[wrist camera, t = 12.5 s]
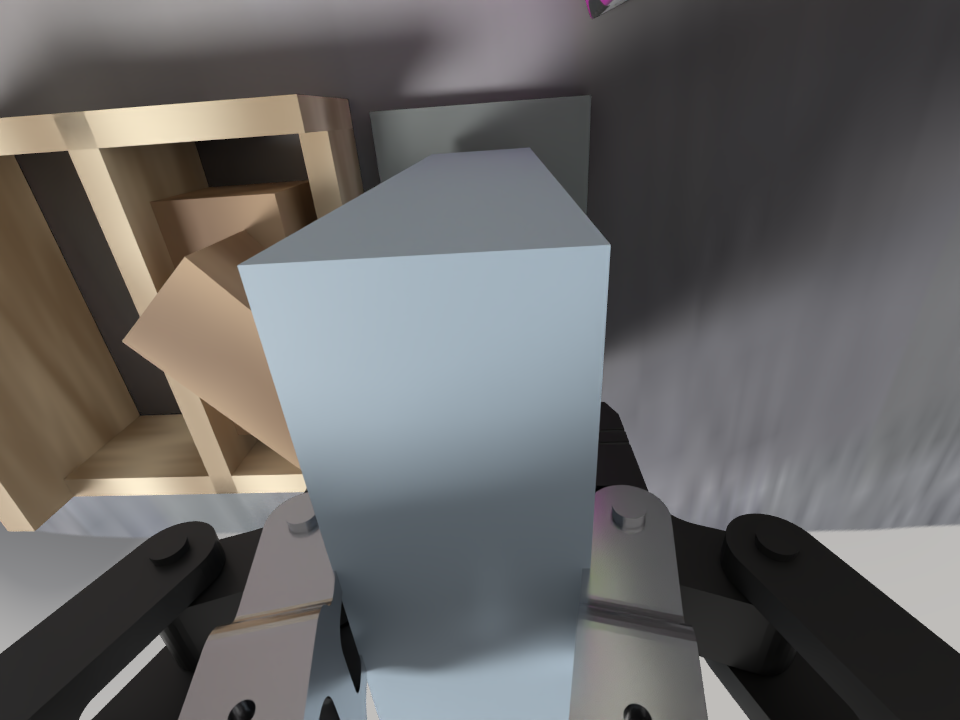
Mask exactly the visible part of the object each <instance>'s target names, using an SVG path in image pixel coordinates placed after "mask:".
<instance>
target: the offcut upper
mask: <svg viewBox="0 0 960 720" xmlns="http://www.w3.org/2000/svg"><path fill="white" fill-rule="evenodd" d="M263 250H265V248H264V247H263V246H262V245H261V244H260V243H259V242H257V241H256V240H255V239H254V238H253V237H252V236H250V235H249V234H248V233H247V232H246V231H245V230H243V231H241V232H239V233H236V234H234V235H232V236H230V237H227V238H225V239H223V240H221V241H219V242H216V243H214V244H212V245H210V246H207V247H205V248H203V249H201V250H199V251H196V252H194V253H192V254H190V255H187V256H185V257H184V258H183V260H182V261H181V262H180V264H179V265H178V266H177V268H176V269H175V270H174V272H173V273H172V275H171V276H170V277H169V279H168V280H167V281H166V283H165V284H164V285H163V287H162V288H161V289H160V291H159V292H158V293H157V295H156V296H155V297H154V299H153V300H152V301H151V303H150V304H149V305H148V307H147V308H146V310H145V311H144V312H143V314H142V315H141V316H140V318H139V319H138V320H137V322H136V323H135V324H134V326H133V327H132V328H131V330H130V331H129V332H128V334H127V335H126V336H125V338H124V339H123V341H122V342H123V343H124V344H126V345H127V346H129V347H130V348H131V349H133V350H134V351H136V352H137V353H138V354H140V355H141V356H143V357H144V358H145V359H147V360H148V361H150V362H151V363H152V364H154V365H155V366H157V367H158V368H159V369H161V370H162V371H164V372H165V373H166V374H168V375H169V376H170V377H172V378H173V379H175V380H176V381H177V382H179V383H180V384H182V385H183V386H184V387H186V388H187V389H189V390H190V391H191V392H193V393H194V394H196V395H197V396H198V397H200V398H201V399H203V400H204V401H205V402H207V403H208V404H210V405H211V406H212V407H214V408H215V409H217V410H218V411H219V412H221V413H222V414H224V415H225V416H226V417H228V418H229V419H230V420H232V421H233V422H235V423H236V424H237V425H239V426H240V427H242V428H243V429H244V430H246V431H247V432H249V433H250V434H251V435H253V436H254V437H256V438H257V439H258V440H260V441H261V442H263V443H264V444H265V445H267V446H268V447H270V448H271V449H272V450H274V451H275V452H277V453H278V454H279V455H281V456H282V457H283V458H285V459H286V460H288V461H289V462H290V463H292V464H293V465H295V466H296V467H297V468H299V469H300V470H301V468H300V465H299V461H298V458H297V455H296V452H295V449H294V446H293V442H292V439H291V436H290V433H289V430H288V426H287V423H286V420H285V417H284V414H283V410H282V407H281V404H280V401H279V398H278V394H277V391H276V388H275V385H274V382H273V378H272V375H271V372H270V369H269V366H268V362H267V359H266V356H265V353H264V350H263V346H262V343H261V340H260V337H259V334H258V331H257V327H256V324H255V321H254V318H253V315H252V311H251V308H250V305H249V302H248V299H247V295H246V292H245V289H244V286H243V283H242V279H241V276H240V273H239V270H238V267H237V265H239V264H241V263H242V262H244V261H246V260H248V259H249V258H251V257H253V256H255V255H256V254H258V253H260V252H262V251H263Z"/></svg>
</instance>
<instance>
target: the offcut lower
mask: <svg viewBox="0 0 960 720" xmlns="http://www.w3.org/2000/svg"><path fill="white" fill-rule="evenodd" d="M150 204H151V207H152V210H153V212H154V215H155V218H156V220H157V223H158V225H159V228H160V231H161V233H162V236H163V239H164V241H165V244H166V247H167V249H168V252H169V255H170V257H171V260H172V262H173V265H174V268H175V269H176V268H177V266H178V265H179V264H180V262H181V261H182V260H183V258H184V257H185V256H187V255H190V254H192V253H194V252H196V251H199V250H201V249H203V248H205V247H207V246H210V245H212V244H214V243H216V242H219V241H221V240H223V239H225V238H227V237H230V236H232V235H234V234H236V233H239V232H241V231H243V230H245V231H246V232H247V233H248V234H249V235H250V236H252V237H253V238H254V239H255V240H256V241H257V242H259V243H260V244H261V245H262V246H263V247H264V248H265V249H267V248H269V247H270V246H272V245H274V244H276V243H277V242H279V241H281V240H283V239H284V238H286V237H288V236H290V235H291V234H293V233H295V232H297V231H298V230H300V229H302V228H304V227H305V226H307V225H309V224H311V223H312V222H314V221H316V220H318V219H317V215H316V210H315V206H314V201H313V197H312V192H311V188H310V183H309V180H302V181H288V182H273V183H259V184H245V185H231V186H217V187H208V188H204V189H200V190H196V191H192V192H188V193H184V194H180V195H176V196H172V197H168V198H164V199H160V200H155V201H151V202H150ZM233 423H234V425H235V428H236V431H237V433H238V435H251V434H250V433H249V432H247V431H246V430H244V429H243V428H242V427H240V426H239V425H237V424H236V423H235V422H233Z"/></svg>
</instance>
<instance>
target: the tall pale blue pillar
mask: <svg viewBox="0 0 960 720" xmlns="http://www.w3.org/2000/svg"><path fill="white" fill-rule="evenodd" d="M610 249H611V244H610V243H609V242H608V241H607V240H606V238H605V237H604V236H603V235H602V234H601V232H600V231H599V230H598V229H597V228H596V226H595V225H594V224H593V223H592V222H591V220H590V219H589V218H588V217H587V216H586V214H585V213H584V212H583V211H582V210H581V208H580V207H579V206H578V205H577V204H576V202H575V201H574V200H573V199H572V198H571V196H570V195H569V194H568V193H567V192H566V190H565V189H564V188H563V187H562V186H561V184H560V183H559V182H558V181H557V180H556V178H555V177H554V176H553V175H552V174H551V172H550V171H549V170H548V169H547V168H546V166H545V165H544V164H543V163H542V162H541V160H540V159H539V158H538V157H537V156H536V154H535V153H534V152H533V151H532V150H531V148H530V147H529V148H514V149H500V150H486V151H472V152H457V153H443V154H432V155H430V156H428V157H426V158H425V159H423V160H421V161H419V162H418V163H416V164H414V165H412V166H411V167H409V168H407V169H405V170H404V171H402V172H400V173H398V174H397V175H395V176H393V177H391V178H390V179H388V180H386V181H384V182H383V183H381V184H379V185H377V186H376V187H374V188H372V189H370V190H369V191H367V192H365V193H363V194H361V195H360V196H358V197H356V198H354V199H353V200H351V201H349V202H347V203H346V204H344V205H342V206H340V207H339V208H337V209H335V210H333V211H332V212H330V213H328V214H326V215H325V216H323V217H321V218H319V219H318V220H316V221H314V222H312V223H311V224H309V225H307V226H305V227H304V228H302V229H300V230H298V231H297V232H295V233H293V234H291V235H290V236H288V237H286V238H284V239H283V240H281V241H279V242H277V243H276V244H274V245H272V246H270V247H269V248H267V249H265V250H263V251H262V252H260V253H258V254H256V255H255V256H253V257H251V258H249V259H248V260H246V261H244V262H242V263H241V264H239V265H237V267H238V270H239V273H240V276H241V279H242V283H243V286H244V289H245V292H246V295H247V299H248V302H249V305H250V308H251V311H252V315H253V318H254V321H255V324H256V327H257V331H258V334H259V337H260V340H261V343H262V346H263V350H264V353H265V356H266V359H267V362H268V366H269V369H270V372H271V375H272V378H273V382H274V385H275V388H276V391H277V394H278V398H279V401H280V404H281V407H282V410H283V414H284V417H285V420H286V423H287V426H288V430H289V433H290V436H291V439H292V442H293V446H294V449H295V452H296V455H297V458H298V461H299V465H300V468H301V471H302V474H303V477H304V481H305V484H306V487H307V490H308V493H309V497H310V500H311V503H312V506H313V509H314V513H315V516H316V519H317V522H318V525H319V529H320V532H321V535H322V538H323V541H324V545H325V548H326V551H327V554H328V557H329V561H330V564H331V567H332V570H333V571H336V572H337V576H338V579H339V582H340V585H341V589H342V592H343V593H342V602H343V605H344V608H345V612H346V615H347V618H348V621H349V624H350V628H351V631H352V634H353V637H354V640H355V644H356V647H357V650H358V653H359V655H362V657H363V660H364V663H365V666H366V670H367V682H368V685H369V688H370V691H371V695H372V698H373V701H374V704H375V707H376V711H377V714H378V717H379V720H569V711H570V699H571V687H572V675H573V663H574V652H575V640H576V628H577V616H578V606H579V603H580V591H581V579H582V568H590V567H591V551H592V535H593V519H594V503H595V488H596V472H597V456H598V440H599V424H600V408H601V392H602V376H603V360H604V344H605V328H606V313H607V297H608V281H609V265H610Z"/></svg>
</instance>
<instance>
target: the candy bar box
mask: <svg viewBox="0 0 960 720" xmlns="http://www.w3.org/2000/svg"><path fill="white" fill-rule="evenodd" d="M585 1H586V4H587V7H588V11H589V14H590V17H591V18H595V17H598V16H600V15H602V14H604V13H605V12H607V11H609V10H611V9H613V8H614V7H616V6H618V5H620V4H622V3H623V2H625V1H627V0H585Z"/></svg>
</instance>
